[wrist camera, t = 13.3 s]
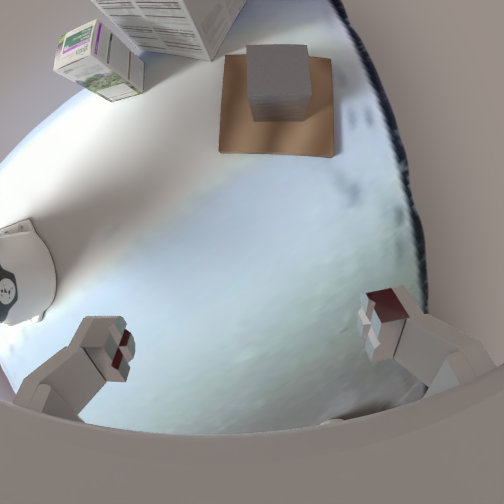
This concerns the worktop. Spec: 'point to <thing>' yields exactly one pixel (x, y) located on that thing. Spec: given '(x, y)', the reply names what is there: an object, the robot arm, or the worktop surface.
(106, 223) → the worktop surface
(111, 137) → the worktop surface
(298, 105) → the grey rectangular block
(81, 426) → the robot arm
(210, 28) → the supplement box
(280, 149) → the tang block
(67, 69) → the syrup box
